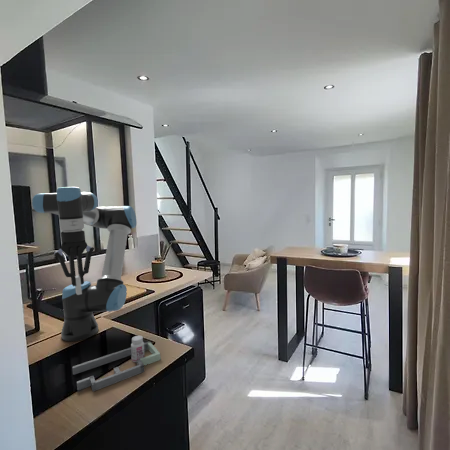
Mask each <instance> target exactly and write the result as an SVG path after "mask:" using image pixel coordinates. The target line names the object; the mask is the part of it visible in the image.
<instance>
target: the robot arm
mask: <svg viewBox="0 0 450 450" xmlns="http://www.w3.org/2000/svg"><path fill="white" fill-rule="evenodd" d="M31 201H32V203H31V205H32V208H33V210H34V211H35V212H36V213H40V214H47V213H49V214H53V215H56V216H57V215H58V217H59V218H58V219H59V228H60V229H59V230H60V231H61V232H60V239H61V245H60V248H59V249H58V250H57V251H56V250H55V251H54V252H53V254H54V255H55V257H57V258H58V262H59V264H60V266H61V268H62V269H61V270H62V271H63V273H64V276H65V277H66V278H70V280H71V284H69V285H67V286H66V287H64V288H63V289H62V293H61V294H62V297H61V300H62V308H63V315H64V321H63V326H62V329H61V333H60V334H61V335H60V336H61V339H62V341H66V342H78V341H82V340H83V341H84V340H86V339H88V338H91V337H93V336H95V334H97V333H98V331H99V325H98V322H97V319H96V317H95V316H94V313H95V312H109V313H111V312H115V311H117V312H118V311H120V309H122V307H124V305H125V302H126V299H127V294H128V292H127V286H126V284H125V283H124V280H122V273H123V268H124V267H123V266H124V260H125V253H126V248H127V239H128V236H129V235H130V234H131V232H132V229H134V228H136V227H137V216H136V212H135V210H134V208H133V207H132V206H130V205H120V206H119V205H117V206H114V205H113V206H98V204H99V199H98V197H97V195H96V194H95V193H92V192H89V191H82V192H81V189H80V187H78V186H63V187H60V186H59V187H57V189H56V192H50V193H49V192H42V193H36V194H35V195H34V196H33V197H32V200H31ZM85 225H87V226H90V227H93V228H97V229H107V231H108V232H109V234H108V241H107V246H106V251H105V256H104V261H103V262H104V263H103V268H102V273H101V277H100V278H98V279H97V281H96V284H93V285H92V283H91V282H90V281H88V280H86V281H85V280H84V276H85V275H87V274H89V272H90V271H89V270H90V266H91V259H92V254H93V252H94V250H95V248H94V247H93V246H91V245H88V243H87V242H86V234H85V230H84V229H85V227H84V226H85ZM85 251H86V253H85V260H84V265H83V253H84V252H85ZM63 252H64V253H65V254H66V255H67V257H68V260H69V262H68V263H69V270H68V267H67V265H66V262H65V260H64V257H63ZM75 257H76V263H77V274H76V266H75V265H76V264H75Z"/></svg>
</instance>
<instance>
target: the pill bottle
mask: <svg viewBox="0 0 450 450" xmlns="http://www.w3.org/2000/svg"><path fill="white" fill-rule="evenodd" d="M144 343H145V342H144V338H143V336H142V335H135V336H133V337H132V338H131V343H130V348H131V355H130V357H131V362H133V363H137V362H136V360H138V359H141V358H144V357H145V350H144Z"/></svg>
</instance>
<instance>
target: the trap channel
mask: <svg viewBox="0 0 450 450" xmlns="http://www.w3.org/2000/svg"><path fill="white" fill-rule="evenodd" d="M147 350H148V351H149V352H150V353H151V354H150V355H147V356H144V358H141V359H138V360H136V362H135V363H136V365H135V366H132V367H129V368H127V369H125V370H122V371H121V370H120V368H119V366H116V367H113V374H111V375H108V376H104V377H103V378H100V379H98V380H96V379H95V377H94V375H91V376H89V377H86V378H82V379H79V380H78V381H76V387H77V388H76V389H77V391H81V390H83V389H86V388H89V387H90V388H91V391H92V392H96V391H98V390H101V389H103V388H105V387H108V386H111V385H114V384H116V383H120V382H122V381H124V380H126V379H129V378H132V377H134V376H137V375H140V374H142V373H144V372H145V366H148V365H149V364H153V363H156V362H158V361H161V353H160V351H158V349H157V348H156V347H155V346H154V345H153V344H152V342H151V341H147V342H144V351H147ZM129 356H130V357H131V347H127V348H125V349H123V350H119V351H116V352H112V353H110V354H106V355H103V356H101V357H98V358H95V359H91V360H89V361H85V362H82V363H80V364H77V365H76V364H75V365H73V366H72V375H74V376H75V375H77V374H80V373H83V372H86V371H89V370H92V369H95V368H97V367H100V366H103V365H106V364H109V363H112V362H115V361H118V360H121V359H124V358H127V357H129ZM147 364H148V365H147ZM144 365H145V366H144Z"/></svg>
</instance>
